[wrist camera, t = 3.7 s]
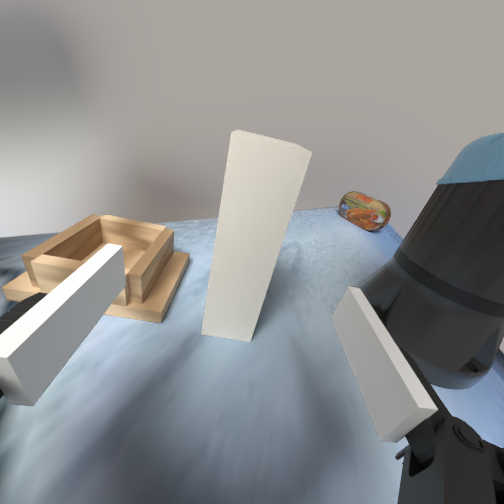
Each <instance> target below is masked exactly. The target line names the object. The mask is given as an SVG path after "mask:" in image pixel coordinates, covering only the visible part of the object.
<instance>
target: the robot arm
mask: <svg viewBox="0 0 504 504" xmlns="http://www.w3.org/2000/svg"><path fill="white" fill-rule="evenodd" d="M437 185H438V186H437V188H436V190H435V191H434V193H433V194H432V196H431V197H430V199H429V201H428V202H427V204H426V205H425V207H424V208H423V210H422V212H421V213H420V215H419V217H418V218H417V220H416V221H415V223H414V224H413V226H412V228H411V229H410V230H409V232H408V234H407V235H406V237H405V238H404V240H403V241H402V243H401V244H400V246H399V248H398V249H397V251H396V252H395V254H394V256H393V257H392V258H391V260H390V261H388V262H387V263H386V264H385V265H383V266H382V267H381V268H380V269H378V270H377V271H376V272H374V273H373V274H372V275H371V276H369V277H368V278H367V279H366V280H364V281H363V282H362V283H361V284H359V286H358V287H357V288H356V287H350V286H348V287H347V289H346V291H345V293H344V295H343V296H342V298H341V300H340V302H339V304H338V305H337V307H336V309H335V311H334V313H333V314H332V316H331V320H332V323H333V325H334V328H335V330H336V333H337V335H338V338H339V340H340V343H341V345H342V348H343V350H344V353H345V355H346V358H347V360H348V363H349V365H350V368H351V370H352V373H353V375H354V378H355V380H356V383H357V385H358V388H359V390H360V393H361V395H362V398H363V400H364V403H365V405H366V408H367V410H368V413H369V415H370V418H371V420H372V423H373V425H374V428H375V430H376V433H377V435H378V438H379V440H380V441H385V442H395V443H397V442H398V441H399V440H401V439H402V438H403V437H404V436H405V437H406V439H407V441H408V443H409V445H408V446H407V447H405V448H404V449H403V450H401V451H400V452H398V453H397V455H396V457H395V458H396V459H397V460H399V459H400V458H402V457H403V456H404V462H403V463H402V464H403V469H402V476H401V483H400V490H399V497H398V504H504V448H500V447H498V446H496V445H493V444H491V443H489V442H487V441H485V440H482V439H481V437H480V436H479V435H478V434H477V433H476V432H475V430H474V429H473V428H472V427H470V426H469V425H468V424H467V423H465V422H464V421H462V420H461V419H459V418H457V417H453V416H452V415H451V414H450V413H449V411H448V410H447V408H446V407H445V405H444V404H443V402H442V401H441V399H440V398H439V396H438V395H437V393H436V392H435V390H434V389H433V388H432V386H431V385H430V383H432V384H434V385H437V386H441V387H445V388H450V389H465V388H469V387H471V386H472V385H474V384H475V383H476V382H478V381H479V380H480V379H481V378H483V377H484V376H485V375H486V374H487V373H488V372H489V370H490V369H491V366H492V364H493V361H494V359H495V356H496V354H497V352H498V349H499V347H500V344H501V342H502V339H503V337H504V133H499V134H493V135H488V136H484V137H481V138H479V139H477V140H475V141H473V142H471V143H470V144H468V145H467V146H466V147H465V148H464V149H463V150H462V151H461V152H460V153H459V155H458V156H457V158H456V159H455V160H454V162H453V163H452V165H451V166H450V168H449V169H448V170H447V172H446V173H445V175H444V176H443V177H442V179H439V180H438V182H437ZM125 286H126V278H125V266H124V254H123V246H121V245H115V244H110V243H108V244H106V245H105V246H104V247H103V248H102V249H101V250H99V251H98V252H97V253H96V254H95V255H94V256H92V257H91V258H90V259H89V260H88V261H86V262H85V263H84V264H83V265H82V266H81V267H79V268H78V269H77V270H76V271H75V272H74V273H72V274H71V275H70V276H69V277H68V278H66V279H65V280H64V281H63V282H62V283H61V284H59V285H58V286H57V287H56V288H55V289H53V290H52V291H51V292H50V293H49V294H48V293H41V292H38V293H36V294H34V295H32V296H30V297H28V298H26V299H24V300H22V301H21V302H19V303H18V304H17V305H16V306H14V307H13V308H12V309H10V311H9V312H7V313H5V314H4V315H3V316H1V317H0V398H1V397H2V396H3V395H4V397H5V399H6V400H7V402H8V403H9V404H15V405H25V406H34V405H35V403H36V402H37V401H38V399H39V398H40V397H41V395H42V394H43V393H44V392H45V390H46V389H47V388H48V386H49V385H50V384H51V382H52V381H53V380H54V379H55V377H56V376H57V375H58V373H59V372H60V371H61V369H62V368H63V367H64V365H65V364H66V363H67V362H68V360H69V359H70V358H71V356H72V355H73V354H74V352H75V351H76V350H77V348H78V347H79V346H80V345H81V343H82V342H83V341H84V339H85V338H86V337H87V335H88V334H89V333H90V332H91V330H92V329H93V328H94V326H95V325H96V324H97V322H98V321H99V320H100V318H101V317H102V316H103V315H104V313H105V312H106V311H107V309H108V308H109V307H110V305H111V304H112V303H113V302H114V300H115V299H116V298H117V296H118V295H119V294H120V292H121V291H122V290H123V288H124V287H125Z"/></svg>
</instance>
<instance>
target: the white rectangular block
mask: <svg viewBox="0 0 504 504" xmlns="http://www.w3.org/2000/svg"><path fill="white" fill-rule="evenodd" d="M311 154H312V152H310V151H309V150H307V149H305V148H303V147H301V146H299V145H297V144H294V143H290V142H286V141H282V140H278V139H274V138H270V137H266V136H262V135H258V134H254V133H249V132H246V131H241V130H236V131H234V132H232V133H231V140H230V146H229V152H228V159H227V165H226V173H225V179H224V185H223V193H222V198H221V205H220V212H219V218H218V225H217V231H216V238H215V244H214V251H213V258H212V264H211V271H210V277H209V284H208V291H207V297H206V304H205V310H204V317H203V324H202V330H201V335H207V336H213V337H220V338H227V339H234V340H240V341H247V342H251V339H252V335H253V332H254V329H255V326H256V323H257V320H258V317H259V314H260V311H261V308H262V305H263V302H264V299H265V296H266V292H267V289H268V286H269V283H270V280H271V277H272V274H273V271H274V268H275V265H276V262H277V259H278V256H279V253H280V249H281V246H282V243H283V240H284V237H285V234H286V231H287V228H288V225H289V222H290V219H291V216H292V213H293V210H294V206H295V203H296V200H297V197H298V194H299V191H300V188H301V185H302V182H303V179H304V176H305V173H306V170H307V167H308V163H309V160H310V157H311Z"/></svg>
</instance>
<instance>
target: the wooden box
mask: <svg viewBox="0 0 504 504" xmlns="http://www.w3.org/2000/svg"><path fill="white" fill-rule="evenodd" d="M108 243H110V244H115V245H121V246H123V254H124V266H125V278H126V286H125V287H124V288H123V290H122V291H121V292H120V294H119V295H118V296H117V298H116V299H115V300H114V302H113V303H112V304H111V305H110V307H109V308H108V309H107V311H106V312H105V313H104V315H110V316H117V317H124V318H130V319H137V320H143V321H150V322H157V323H161V322H162V320H163V318H164V316H165V313H166V311H167V309H168V307H169V305H170V302H171V300H172V298H173V296H174V294H175V292H176V289H177V287H178V285H179V283H180V281H181V278H182V276H183V274H184V272H185V270H186V268H187V265H188V263H189V254H188V253H183V252H177V251H173V245H174V230H170V229H166V226H161V225H156V224H151V223H146V222H140V221H135V220H131V219H125V218H120V217H115V216H110V215H104V216H98V215H90V216H89V217H87V218H85V219H83V220H82V221H80V222H78V223H76V224H75V225H73V226H71V227H70V228H68V229H67V230H65V231H63V232H61V233H59V234H57V235H56V236H54V237H52V238H50V239H49V240H47V241H45V242H43V243H42V244H40V245H38V246H37V247H35V248H33V249H31V250H30V251H28V252H26V253H24V254H23V255H21V256H22V258H23V261H24V264H25V267H26V270H27V271H26V272H24V273H23V274H21V275H20V276H18V277H17V278H15V279H14V280H12V281H11V282H9V283H8V284H6V285H5V286H3V287H2V290H3V292H4V294H5V296H6V299H7V300H11V301H18V302H21V301H22V300H24V299H26V298H28V297H30V296H32V295H34V294H36V293H38V292H41V293H48V294H49V293H50V292H51V291H52V290H53V289H55V288H56V287H57V286H58V285H59V284H61V283H62V282H63V281H64V280H65V279H66V278H68V277H69V276H70V275H71V274H72V273H74V272H75V271H76V270H77V269H78V268H79V267H81V266H82V265H83V264H84V263H85V262H86V261H88V260H89V259H90V258H91V257H92V256H94V255H95V254H96V253H97V252H98V251H99V250H101V249H102V248H103V247H104V246H105V245H106V244H108Z"/></svg>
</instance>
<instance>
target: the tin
mask: <svg viewBox="0 0 504 504" xmlns="http://www.w3.org/2000/svg"><path fill="white" fill-rule="evenodd" d="M339 211H340V214H341V216H342V217H343V218H344V219H346V220H348V221H350V222H352V223H354V224H355V225H357V226H359V227H361V228H363V229H365V230H369V231H371V230H379V229H381V228H383V227H384V226H385V225H386V224H387V223H388V221H389V219H390V216H391V211H390V208H389V206H388V205H387V204H386V203H384V202H382V201H380V200H377V199H375V198H372V197H370V196H367V195H365V194H362V193H359V192H355V191H352V192H349V193H347V194H346V195H345V196H344V197H343V198H342V200H341V202H340V205H339Z"/></svg>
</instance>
